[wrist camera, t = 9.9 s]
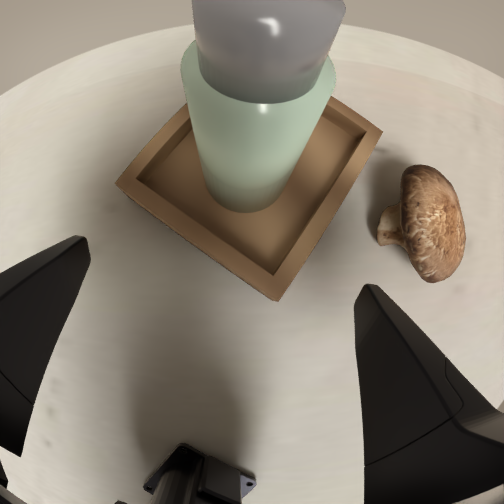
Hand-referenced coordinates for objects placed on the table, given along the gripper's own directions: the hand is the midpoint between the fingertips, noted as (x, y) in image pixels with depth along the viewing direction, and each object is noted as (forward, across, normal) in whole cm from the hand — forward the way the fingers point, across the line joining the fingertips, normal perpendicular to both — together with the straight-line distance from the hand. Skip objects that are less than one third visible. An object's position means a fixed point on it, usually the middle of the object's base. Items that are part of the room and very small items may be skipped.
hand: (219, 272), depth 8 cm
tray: (+12, -1, +1) cm, 13 cm away
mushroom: (+11, -13, +3) cm, 17 cm away
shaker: (+11, 0, +1) cm, 11 cm away
